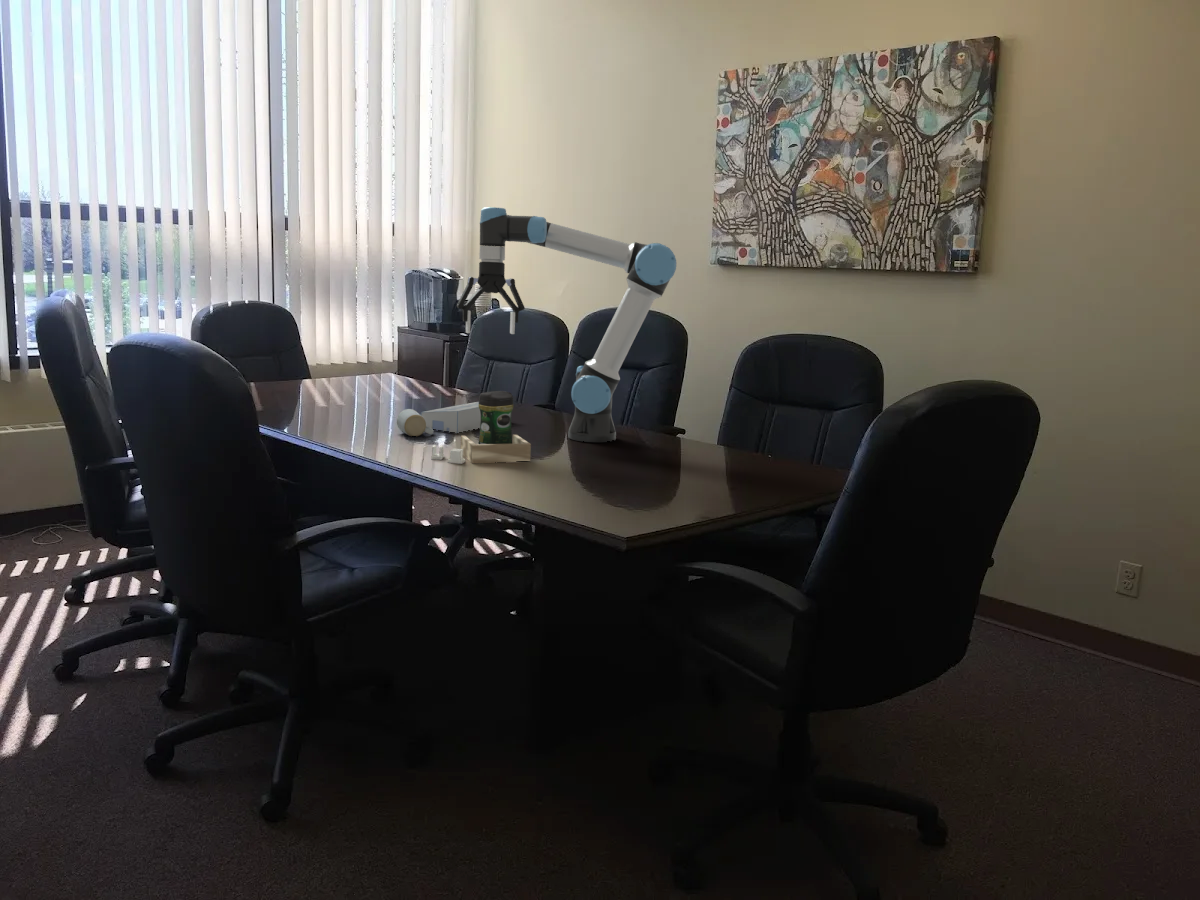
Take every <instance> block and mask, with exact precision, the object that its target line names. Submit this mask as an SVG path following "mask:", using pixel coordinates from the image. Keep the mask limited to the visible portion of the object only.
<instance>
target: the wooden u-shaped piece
mask: <svg viewBox="0 0 1200 900" xmlns="http://www.w3.org/2000/svg"><path fill="white" fill-rule="evenodd" d="M531 446H532V444H531V443H530V442H528V441H527V440H525V439H524V438H522V437H521V436H519V435H518V434H512V444H478V443H477V444H476V443H475V442H474V441H473V440H471V439H470V438H469V437H468V436H466V435H460V449H463V457H464V458H466V460H468V461H469V462H470V464H498V463H497V462H506V463H517V462H516V461H530V462H531V455H532V453H531V451H532V449H531V448H532V447H531ZM495 462H496V463H495Z"/></svg>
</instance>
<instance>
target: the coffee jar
mask: <svg viewBox="0 0 1200 900" xmlns="http://www.w3.org/2000/svg"><path fill="white" fill-rule="evenodd" d="M478 402H479V409H480V414H481V422H480V428H479V433H478V434H479V436H478V443H477V444H512V442H513V434H512V433H513V432H512V431H513V430H512V412H513V409H514V397H513V394H512V392H508V391H505V390H497V391H496V390H495V391H494V390H493V391H486V392H481V393H480V394H479V398H478Z"/></svg>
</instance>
